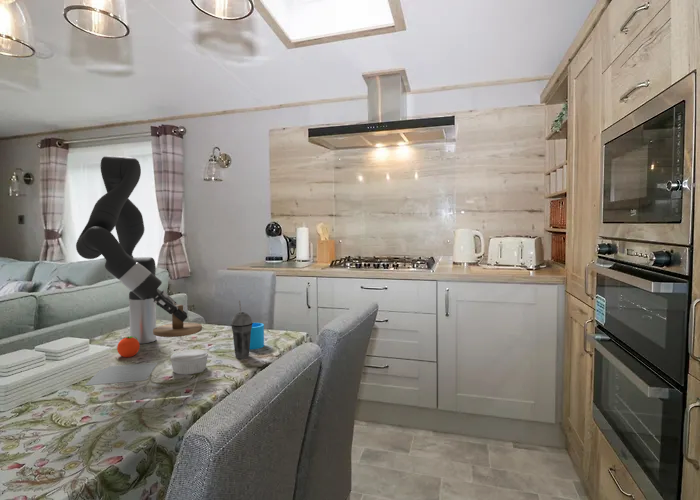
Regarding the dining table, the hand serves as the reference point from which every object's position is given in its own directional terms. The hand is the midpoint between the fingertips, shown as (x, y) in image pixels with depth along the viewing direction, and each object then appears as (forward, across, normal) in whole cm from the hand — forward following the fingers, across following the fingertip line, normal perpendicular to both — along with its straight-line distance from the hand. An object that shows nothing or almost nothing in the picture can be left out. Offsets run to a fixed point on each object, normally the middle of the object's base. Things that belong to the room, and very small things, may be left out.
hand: (185, 317), depth 127 cm
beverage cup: (+25, +7, -1) cm, 26 cm away
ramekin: (+13, 0, +11) cm, 17 cm away
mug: (+30, +20, -5) cm, 36 cm away
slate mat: (0, +4, +24) cm, 25 cm away
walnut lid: (+1, 0, +4) cm, 5 cm away
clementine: (0, +23, +24) cm, 33 cm away
